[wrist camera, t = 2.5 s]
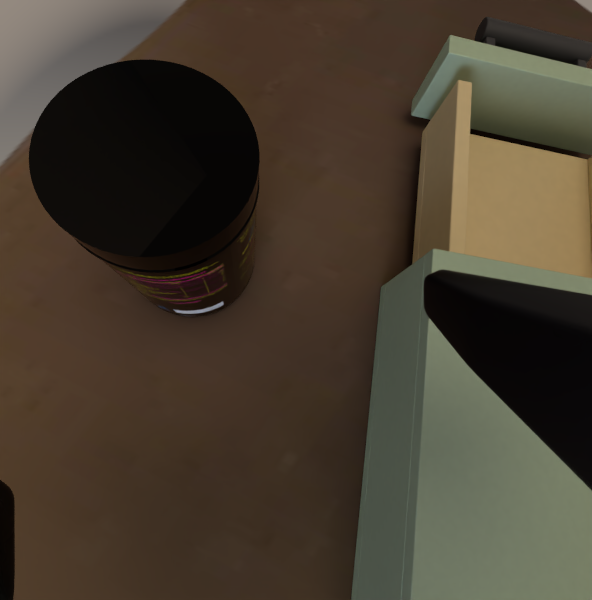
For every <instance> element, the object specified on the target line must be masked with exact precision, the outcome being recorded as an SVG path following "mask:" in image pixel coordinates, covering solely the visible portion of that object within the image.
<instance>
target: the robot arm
mask: <svg viewBox="0 0 592 600" xmlns="http://www.w3.org/2000/svg"><path fill="white" fill-rule="evenodd" d="M424 310H425V312H426V314H427V316H428V317H429V318H430V320H431V321H432V322H433V323H434V325H435V326H436V327H437V328H438V330H439V331H440V332H441V333H442V335H443V336H444V337H445V338H446V340H447V341H448V342H449V343H450V344H451V346H452V347H453V348H454V349H455V351H456V352H457V353H458V354H459V356H460V357H461V358H462V359H463V360H464V362H465V363H466V364H467V365H468V366H469V367H470V368H471V369H472V371H473V372H474V373H475V374H476V375H477V376H478V377H479V378H480V379H481V380H482V381H483V382H484V383H485V384H486V385H487V386H488V387H489V388H490V389H491V390H492V391H493V392H494V393H495V394H496V395H497V396H498V397H499V398H500V399H501V400H502V401H503V402H504V403H505V404H506V405H507V406H508V407H509V408H510V409H511V410H512V411H513V412H514V413H515V414H516V415H517V416H518V417H519V418H520V419H521V420H522V421H523V422H524V423H525V424H526V425H527V426H528V427H529V428H530V429H531V430H532V431H533V432H534V433H535V434H536V435H537V436H538V437H539V438H540V439H541V440H542V441H543V442H544V443H545V444H546V445H547V446H548V447H549V448H550V449H551V450H552V451H553V452H554V453H555V454H556V455H557V456H558V457H559V458H560V459H561V460H562V461H563V462H564V463H565V464H566V465H567V466H568V467H569V468H570V469H571V470H572V471H573V472H574V473H575V474H576V475H577V476H578V477H579V478H580V479H581V480H582V481H583V482H584V483H585V484H586V486H587V487H588V488H589V489H590V490H591V491H592V295H589V294H583V293H577V292H572V291H566V290H560V289H554V288H549V287H543V286H537V285H531V284H525V283H520V282H514V281H508V280H502V279H497V278H491V277H485V276H479V275H474V274H468V273H462V272H456V271H451V270H444V269H442V270H438V271H436V272H434V273H431V274H429V275H427V276H426V277H425V279H424ZM14 575H15V534H14V495H13V493H12V491H11V489H10V488H9V487H8V486H7V485H6V484H5V483H4V482H2V481H1V480H0V600H13V595H14Z"/></svg>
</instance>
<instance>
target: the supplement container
mask: <svg viewBox="0 0 592 600" xmlns="http://www.w3.org/2000/svg"><path fill="white" fill-rule="evenodd" d="M29 168H30V174H31V179H32V183H33V186H34V189H35V191H36V194H37V196H38V198H39V200H40V202H41V203H42V205H43V207H44V208H45V210H46V211H47V212H48V213H49V215H50V216H51V217H52V218H53V220H54V221H55V222H56V223H57V224H58V225H59V226H60V227H62V228H63V229H64V230H65V231H66V232H68V233H69V234H70V235H71V236H72V237H73V238H74V239H75V240H76V241H77V242H78V243H79V244H80V245H81V246H83V247H84V248H85V249H86V250H88V251H89V252H90V253H91V254H93V255H94V256H96V257H97V258H99V259H100V260H102V261H103V262H105V263H106V264H107V265H108V266H109V267H110V268H112V269H113V270H114V271H115V272H116V273H118V274H119V275H120V276H121V277H122V278H123V279H125V280H126V281H127V282H128V283H129V284H131V285H132V286H133V287H134V288H135V289H136V290H138V291H139V292H140V293H141V294H142V295H143V296H145V297H146V298H147V299H148V300H149V301H151V302H152V303H153V304H154V305H156V306H157V307H159V308H161V309H163V310H165V311H167V312H170V313H173V314H176V315H182V316H202V315H207V314H211V313H214V312H216V311H219V310H221V309H223V308H225V307H226V306H228V305H229V304H231V303H232V302H233V301H234V300H235V299H237V298H238V297H239V295H240V294H241V293H242V292H243V290H244V289H245V288H246V286H247V284H248V282H249V280H250V278H251V275H252V272H253V267H254V253H255V229H256V206H257V200H258V194H259V146H258V140H257V136H256V132H255V130H254V127H253V124H252V122H251V120H250V118H249V116H248V114H247V113H246V111H245V110H244V108H243V107H242V105H241V104H240V103H239V102H238V100H237V99H236V98H235V97H234V96H233V95H232V94H231V93H230V92H229V91H228V90H227V89H226V88H225V87H223V86H222V85H221V84H219V83H218V82H217V81H215V80H214V79H212V78H210V77H209V76H207V75H205V74H203V73H201V72H199V71H197V70H195V69H192V68H189V67H187V66H184V65H180V64H176V63H172V62H166V61H159V60H129V61H123V62H117V63H113V64H109V65H106V66H103V67H100V68H97V69H95V70H93V71H90V72H88V73H86V74H84V75H82V76H80V77H79V78H77V79H75V80H74V81H72V82H71V83H70V84H68V85H67V86H66V87H64V88H63V89H62V90H61V91H60V92H59V93H58V94H57V95H56V96H55V97H54V98H53V99H52V100H51V101H50V103H49V104H48V105H47V107H46V108H45V109H44V111H43V113H42V114H41V116H40V118H39V120H38V122H37V124H36V126H35V129H34V132H33V135H32V138H31V143H30V150H29Z"/></svg>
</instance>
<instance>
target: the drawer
mask: <svg viewBox="0 0 592 600" xmlns="http://www.w3.org/2000/svg"><path fill="white" fill-rule="evenodd" d="M591 56H592V43H591V42H587V41H583V40H579V39H575V38H571V37H567V36H563V35H559V34H555V33H551V32H547V31H543V30H539V29H535V28H531V27H527V26H523V25H519V24H515V23H511V22H507V21H503V20H498V19H494V18H490V17H485V18H484V19H483V20H482V22H481V24H480V25H479V27H478V30H477V32H476V36H475V41H473V40H469V39H464V38H460V37H456V36H452V35H450V36H449V38H448V39H447V41H446V43H445V45H444V46H443V48H442V50H441V52H440V53H439V55H438V57H437V59H436V60H435V62H434V64H433V65H432V67H431V69H430V71H429V72H428V74H427V76H426V78H425V79H424V81H423V83H422V85H421V86H420V88H419V90H418V91H417V93H416V95H415V97H414V98H413V100H412V110H411V115H412V116H416V117H420V118H425V119H429V120H430V122H429V123H428V125H427V126H426V128H425V129H424V131H423V132H422V144H421V157H420V170H419V183H418V196H417V209H416V222H415V235H414V248H413V261H412V264H413V263H414V262H416V261H417V260H419V259H420V258H421V257H423V256H424V255H425V254H426V253H428V252H429V251H430V250H432V249H440V250H445V251H450V252H455V253H461V254H466V255H471V256H477V257H482V258H487V259H492V260H498V261H503V262H508V263H513V264H519V265H524V266H529V267H534V268H540V269H545V270H550V271H555V272H561V273H566V274H571V275H577V276H582V277H587V278H592V157H590V158H589V159H588V160H587V159H583V158H578V157H573V156H569V155H564V154H560V153H555V152H551V151H546V150H542V149H537V148H532V147H528V146H523V145H519V144H514V143H510V142H505V141H501V140H496V139H491V138H487V137H482V136H478V135H473V134H470V129H475V130H479V131H484V132H488V133H493V134H497V135H502V136H506V137H511V138H515V139H520V140H525V141H529V142H534V143H538V144H543V145H547V146H552V147H556V148H561V149H565V150H570V151H574V152H579V153H583V154H588V155H592V69H588V68H586V63H587V62H588V61H589V59H590V58H591Z"/></svg>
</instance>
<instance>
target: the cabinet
mask: <svg viewBox="0 0 592 600" xmlns="http://www.w3.org/2000/svg"><path fill="white" fill-rule="evenodd" d="M442 269H444V270H451V271H456V272H462V273H468V274H474V275H479V276H485V277H491V278H497V279H502V280H508V281H514V282H520V283H525V284H531V285H537V286H543V287H549V288H554V289H560V290H566V291H572V292H577V293H583V294H589V295H592V278H587V277H582V276H577V275H571V274H566V273H561V272H555V271H550V270H545V269H540V268H534V267H529V266H524V265H519V264H513V263H508V262H503V261H498V260H492V259H487V258H482V257H477V256H471V255H466V254H461V253H455V252H450V251H445V250H440V249H432V250H430V251H429V252H428V253H426V254H425V255H424V256H423V257H421V258H420V259H419V260H417V261H416V262H414V263H413V264H412V265H410V266H409V267H408V268H406V269H405V270H404V271H402V272H401V273H400V274H398V275H397V276H396V277H394V278H393V279H391V280H390V281H389V282H387V283H386V284H384V285H383V286H382V287H381V293H380V304H379V314H378V325H377V335H376V345H375V356H374V366H373V377H372V387H371V397H370V408H369V418H368V429H367V439H366V449H365V460H364V470H363V481H362V491H361V502H360V512H359V522H358V533H357V543H356V554H355V564H354V574H353V585H352V595H351V600H592V491H591V490H590V489H589V488H588V487H587V486H586V484H585V483H584V482H583V481H582V480H581V479H580V478H579V477H578V476H577V475H576V474H575V473H574V472H573V471H572V470H571V469H570V468H569V467H568V466H567V465H566V464H565V463H564V462H563V461H562V460H561V459H560V458H559V457H558V456H557V455H556V454H555V453H554V452H553V451H552V450H551V449H550V448H549V447H548V446H547V445H546V444H545V443H544V442H543V441H542V440H541V439H540V438H539V437H538V436H537V435H536V434H535V433H534V432H533V431H532V430H531V429H530V428H529V427H528V426H527V425H526V424H525V423H524V422H523V421H522V420H521V419H520V418H519V417H518V416H517V415H516V414H515V413H514V412H513V411H512V410H511V409H510V408H509V407H508V406H507V405H506V404H505V403H504V402H503V401H502V400H501V399H500V398H499V397H498V396H497V395H496V394H495V393H494V392H493V391H492V390H491V389H490V388H489V387H488V386H487V385H486V384H485V383H484V382H483V381H482V380H481V379H480V378H479V377H478V376H477V375H476V374H475V373H474V372H473V371H472V369H471V368H470V367H469V366H468V365H467V364H466V363H465V362H464V360H463V359H462V358H461V357H460V356H459V354H458V353H457V352H456V351H455V349H454V348H453V347H452V346H451V344H450V343H449V342H448V341H447V340H446V338H445V337H444V336H443V335H442V333H441V332H440V331H439V330H438V328H437V327H436V326H435V325H434V323H433V322H432V321H431V320H430V318H429V317H428V316H427V314H426V312H425V310H424V279H425V277H426V276H427V275H429V274H431V273H434V272H436V271H438V270H442Z"/></svg>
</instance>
